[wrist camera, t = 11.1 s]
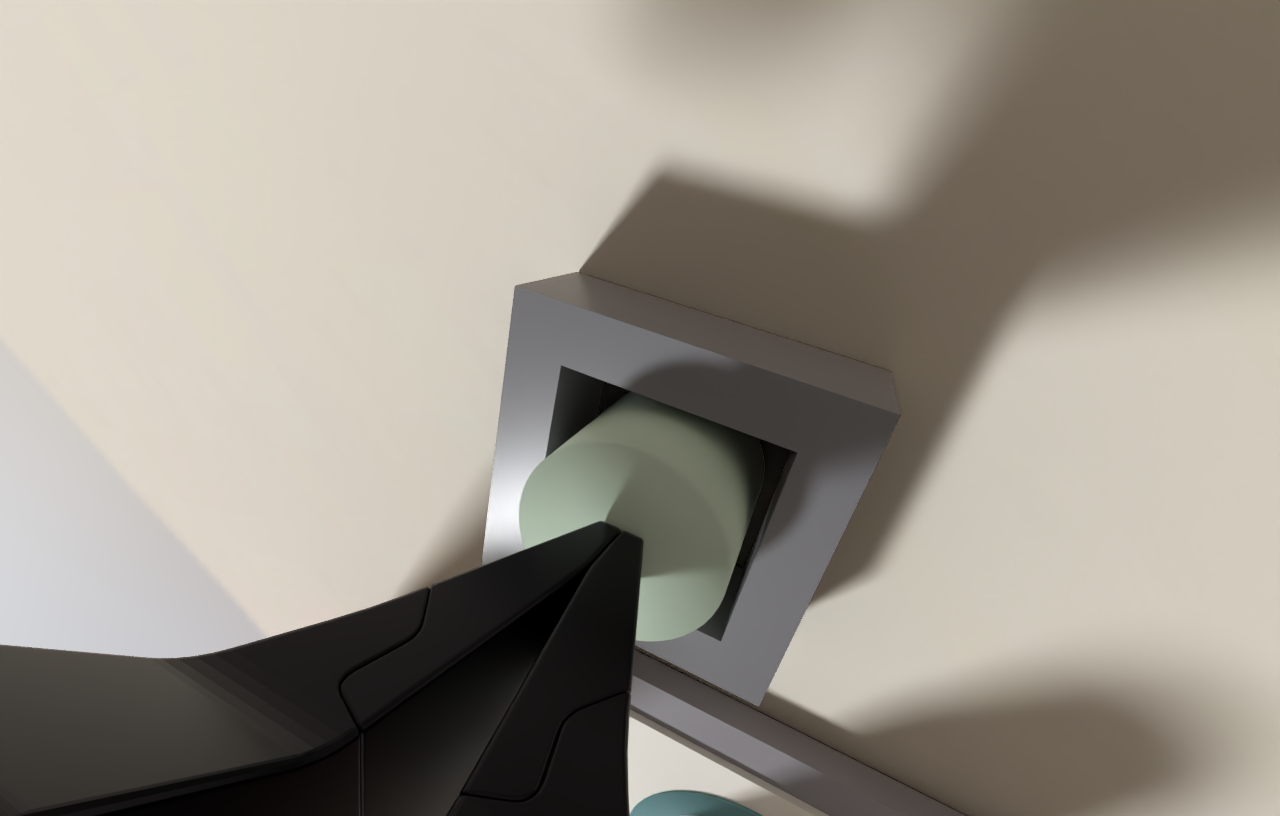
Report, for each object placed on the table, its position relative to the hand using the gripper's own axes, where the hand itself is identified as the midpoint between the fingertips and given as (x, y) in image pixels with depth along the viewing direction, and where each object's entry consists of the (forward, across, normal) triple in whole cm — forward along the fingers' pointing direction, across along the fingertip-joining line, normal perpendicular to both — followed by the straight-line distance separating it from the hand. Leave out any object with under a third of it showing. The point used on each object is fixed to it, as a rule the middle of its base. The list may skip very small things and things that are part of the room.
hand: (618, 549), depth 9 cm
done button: (+4, 0, 0) cm, 4 cm away
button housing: (+4, 0, 0) cm, 4 cm away
